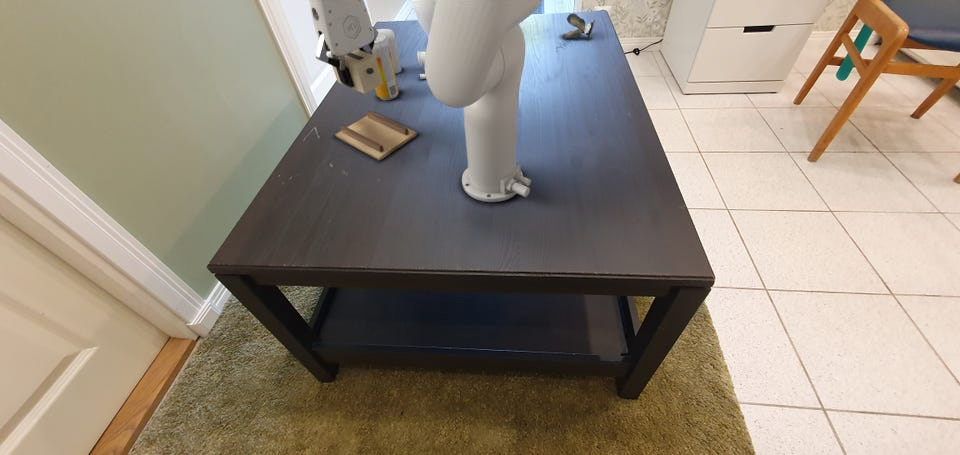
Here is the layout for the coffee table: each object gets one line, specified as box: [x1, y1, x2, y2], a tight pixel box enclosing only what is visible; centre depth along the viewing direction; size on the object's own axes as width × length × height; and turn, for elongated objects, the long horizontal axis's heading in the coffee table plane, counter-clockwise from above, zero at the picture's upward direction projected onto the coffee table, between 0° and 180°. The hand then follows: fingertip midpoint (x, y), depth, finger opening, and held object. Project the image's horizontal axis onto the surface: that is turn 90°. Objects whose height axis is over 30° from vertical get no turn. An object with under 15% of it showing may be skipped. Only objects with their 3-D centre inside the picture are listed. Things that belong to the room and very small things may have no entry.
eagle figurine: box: [561, 13, 596, 40], centre depth 120 cm, size 8×7×9 cm
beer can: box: [372, 35, 400, 101], centre depth 97 cm, size 6×6×15 cm
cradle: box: [334, 110, 418, 161], centre depth 89 cm, size 12×16×2 cm
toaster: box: [327, 49, 382, 95], centre depth 78 cm, size 5×10×6 cm, turn 52°
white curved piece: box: [376, 28, 402, 75], centre depth 107 cm, size 10×4×12 cm, turn 124°
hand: (358, 79), depth 80 cm, fingers closed on toaster, 5 cm apart
